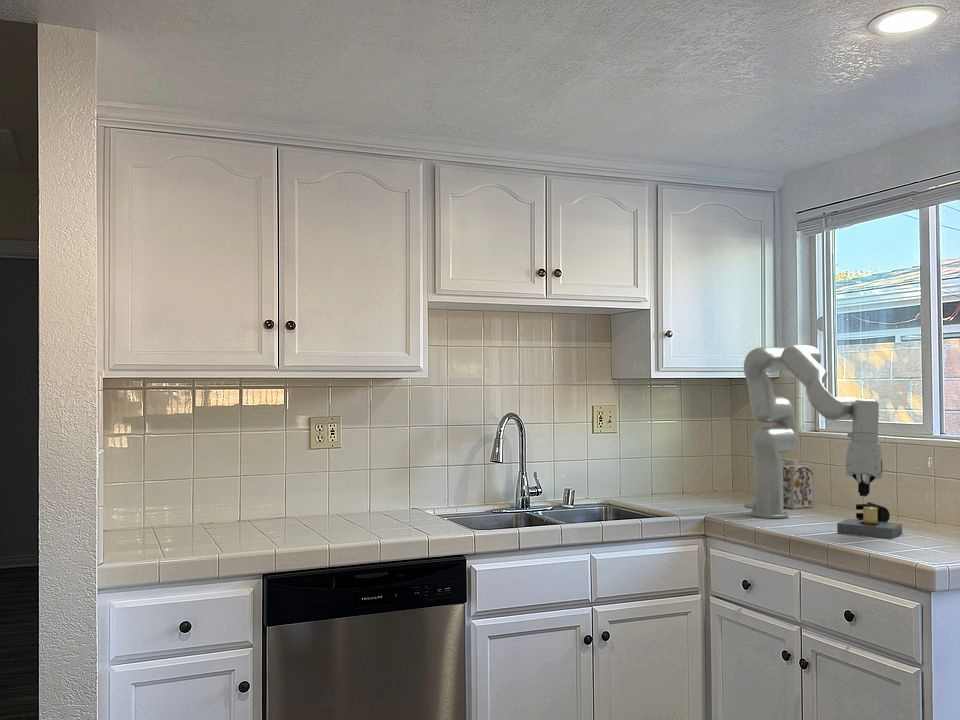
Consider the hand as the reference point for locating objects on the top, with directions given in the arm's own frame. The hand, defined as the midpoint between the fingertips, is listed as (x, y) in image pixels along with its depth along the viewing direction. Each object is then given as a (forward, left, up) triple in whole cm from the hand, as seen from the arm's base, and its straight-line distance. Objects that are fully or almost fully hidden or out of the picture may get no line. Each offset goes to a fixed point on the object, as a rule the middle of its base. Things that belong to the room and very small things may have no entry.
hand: (863, 495), depth 266 cm
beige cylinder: (+2, -1, -12) cm, 12 cm away
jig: (+2, -1, -12) cm, 12 cm away
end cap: (-2, +18, -12) cm, 22 cm away
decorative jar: (-37, +42, -12) cm, 57 cm away
